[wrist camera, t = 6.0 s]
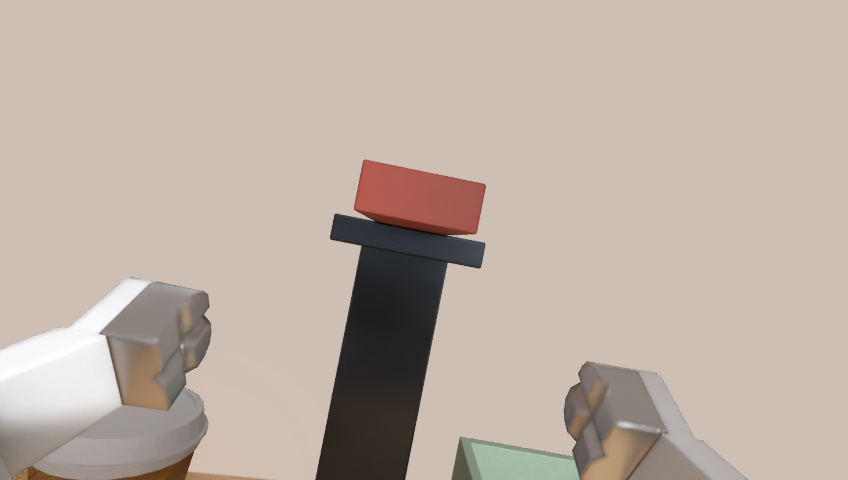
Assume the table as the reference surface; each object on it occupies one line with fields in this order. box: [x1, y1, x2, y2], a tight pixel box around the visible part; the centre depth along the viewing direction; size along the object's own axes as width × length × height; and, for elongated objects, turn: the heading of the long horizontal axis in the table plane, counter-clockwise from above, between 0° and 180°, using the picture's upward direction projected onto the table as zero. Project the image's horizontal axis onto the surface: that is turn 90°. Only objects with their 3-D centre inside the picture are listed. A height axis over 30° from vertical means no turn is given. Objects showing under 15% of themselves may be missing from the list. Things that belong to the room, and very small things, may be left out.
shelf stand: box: [315, 214, 485, 480], centre depth 26 cm, size 10×13×26 cm
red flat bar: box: [354, 160, 486, 235], centre depth 21 cm, size 3×19×1 cm, turn 3°
